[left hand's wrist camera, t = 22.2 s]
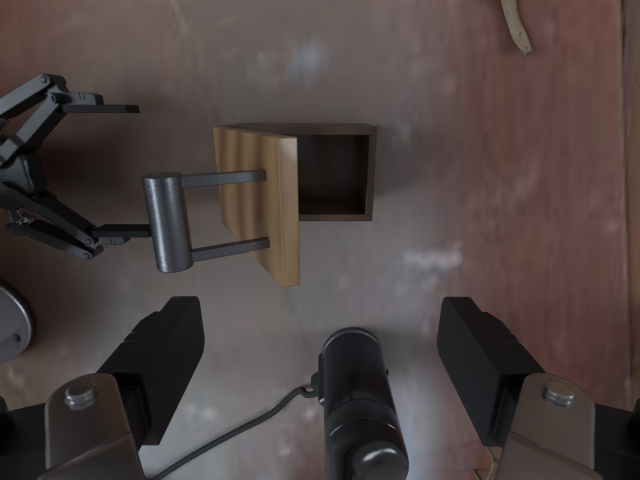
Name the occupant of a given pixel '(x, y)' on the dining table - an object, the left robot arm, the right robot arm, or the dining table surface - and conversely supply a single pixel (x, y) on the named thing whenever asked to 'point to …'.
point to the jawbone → (516, 26)
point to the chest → (331, 168)
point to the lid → (234, 204)
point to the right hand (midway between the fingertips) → (144, 173)
